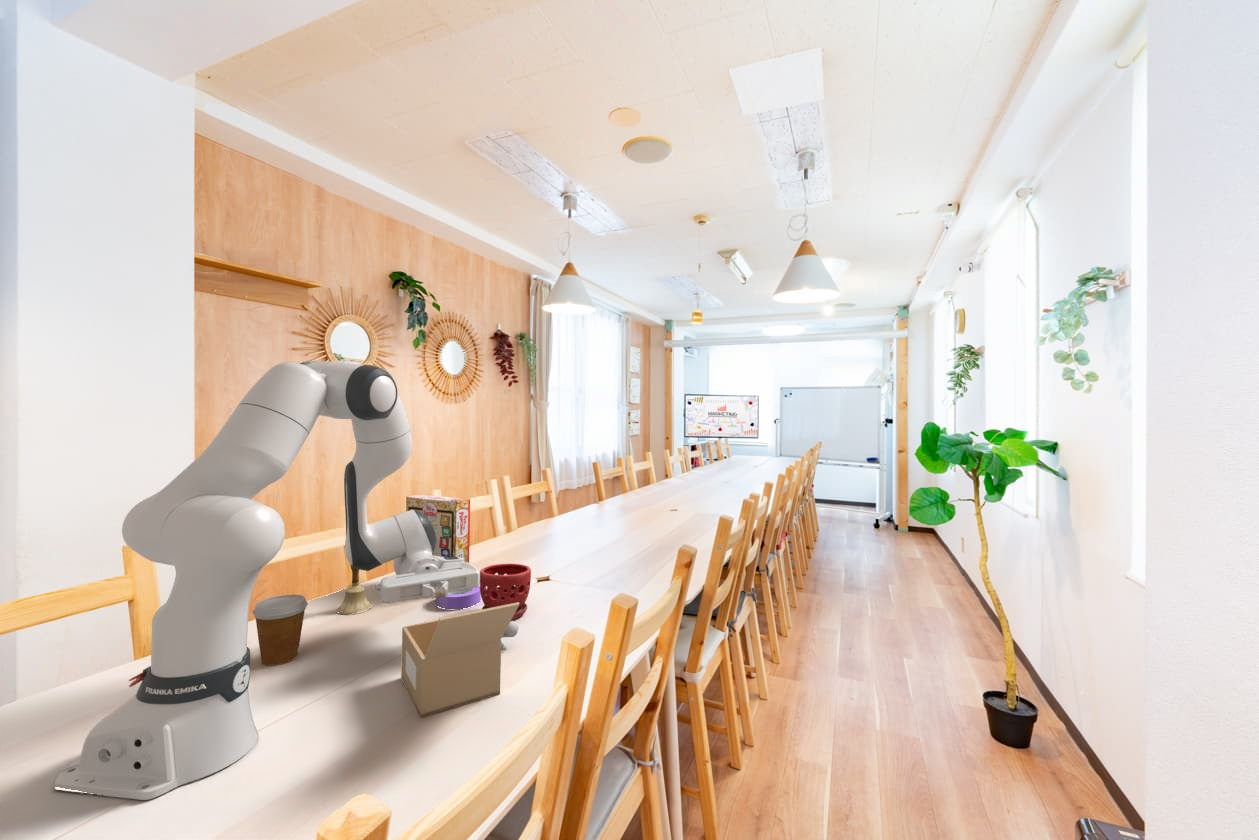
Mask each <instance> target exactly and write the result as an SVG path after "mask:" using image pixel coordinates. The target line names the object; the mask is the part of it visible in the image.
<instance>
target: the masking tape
mask: <svg viewBox="0 0 1259 840" xmlns="http://www.w3.org/2000/svg"><path fill="white" fill-rule="evenodd" d="M435 599H436V600H435V601H436V602H435V603H436V604H437V605H436V607H437V606H439V607H441V608H445V609H462V610H464V609H463V608H467V609H469V608H468V607H471V606H473V605H476V604H477V603H479V602H480V603H481V601H480V600H482V598H481V593H480V585H479V586H478V587H476V588H471V589H465V590H459V591H454V592H448V593H447V596H445V597H439V598H435ZM480 603H479V604H480ZM476 606H477V605H476ZM471 608H472V607H471Z"/></svg>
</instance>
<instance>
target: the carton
mask: <svg viewBox="0 0 1259 840" xmlns="http://www.w3.org/2000/svg"><path fill="white" fill-rule="evenodd" d="M438 621H439V619H437V620H431V621H427V622H425V621H424V622H422V623H421V622H420V623H416V624H411V625H407V626H402V629H401V633H402V634H401V638H402V639H401V675H400V676H401V677H400V678H401V681H402V682H403V684H404V686H405V688H406V690H407V693H408V695H409V697H410V698H411V701H412V703H413V705H414V707H415V709H416V711H417V713H418V715H419V717H420V719H423V718H426V717H429V716H433V715H436V714H439V713H442V712H445V711H449V710H452V709H455V708H458V707H462V706H466V705H467V704H472V703H475V702H478V701H481V700H485V699H488V698H491V697H494V696H497V695H498V696H499V695H500V694H501V670H502V669H501V666H502V664H501V663H502V661H501V660H502V646H501V642H502V639H501V640H500V642H496V643H492V644H488V645H484V646H480V647H476V648H472V649H468V650H464V651H460V652H455V653H451V654H447V655H443V656H439V657H435V658H431V659H427V660H425V655H426V653H427V650H428V648H429V645H430V642H431V640H432V637H433V634H434V632H435V629H436V627H437V624H438Z"/></svg>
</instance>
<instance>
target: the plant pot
mask: <svg viewBox="0 0 1259 840" xmlns="http://www.w3.org/2000/svg"><path fill="white" fill-rule="evenodd" d="M531 569H532V568H531V567H530V566H528V565H525V564H521V563H498V564H497V563H496V564H492V565H489V566H485V567H482V568H481V569H480V570H479V572H480V584H479V586H480V593H481V600H482V603H483V606H482V607H481V610H483V609H488V608H493V607H497V606H502V605H507V604H512V603H517V602H519V606H518V608H517V610H516V612H515V614H514V616H513V618H512V619H511V620H513V619H518V618H519V617H521V616H522V615H524V614H525V613H526V612H527V610H528V604H527V603H526V602H527V599H528V596H529V594H530V590H531V589H530V588H531V580H532V570H531Z"/></svg>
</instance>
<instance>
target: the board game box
mask: <svg viewBox="0 0 1259 840" xmlns="http://www.w3.org/2000/svg"><path fill="white" fill-rule="evenodd" d="M405 500H406V501H405V502H406V503H405V504H406V505H405V508H406V509H405V510H406V511H410V510H413V509H414V510H418V511H420V512H421V513H423V514H424V515H426V516H427V517H428V519H429V520H430V522H431V524H432V526H433V528H434V531H435V535H436V546H435V550H434V552H432V555H433V556H440V557H462V558H463V559H464V562H467V563H470V545H471V544H470V537H471V536H470V533H471V531H470V530H471V498H461V497H450V496H447V497H446V496H440V495H427V494H415V495H407V496H406V499H405ZM406 511H405V512H406Z"/></svg>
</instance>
